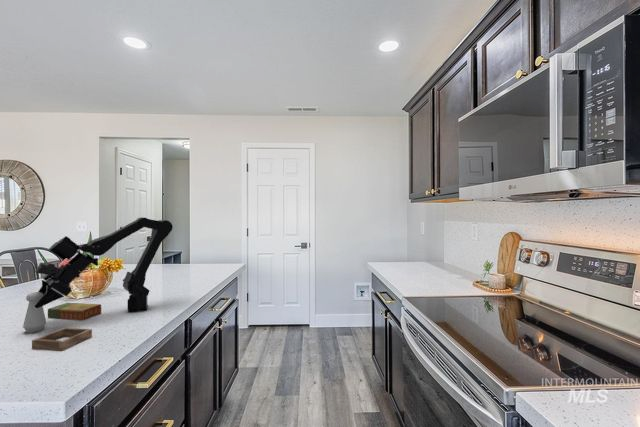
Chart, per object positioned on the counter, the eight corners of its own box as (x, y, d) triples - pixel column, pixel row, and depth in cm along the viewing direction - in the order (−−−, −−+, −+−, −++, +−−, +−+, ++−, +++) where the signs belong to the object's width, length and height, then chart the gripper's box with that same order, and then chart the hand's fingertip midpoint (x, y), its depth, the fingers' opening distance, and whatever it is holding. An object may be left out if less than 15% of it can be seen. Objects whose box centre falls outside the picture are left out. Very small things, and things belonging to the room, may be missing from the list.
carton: (82, 321, 117) (82, 310, 117) (46, 319, 120) (46, 308, 120) (101, 314, 125) (101, 303, 125) (67, 312, 128) (67, 301, 128)
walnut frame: (64, 335, 103) (64, 327, 103) (91, 337, 102) (91, 329, 102) (31, 348, 93) (31, 340, 93) (62, 350, 92) (62, 342, 92)
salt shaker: (18, 333, 104) (18, 294, 104) (35, 327, 110) (35, 290, 110) (34, 334, 104) (34, 295, 104) (50, 328, 109) (50, 291, 109)
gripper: (49, 251, 117) (8, 286, 109) (58, 256, 104) (12, 296, 96) (76, 269, 123) (39, 304, 115) (87, 276, 110) (46, 315, 102)
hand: (34, 304), depth 107 cm, fingers open, 9 cm apart
